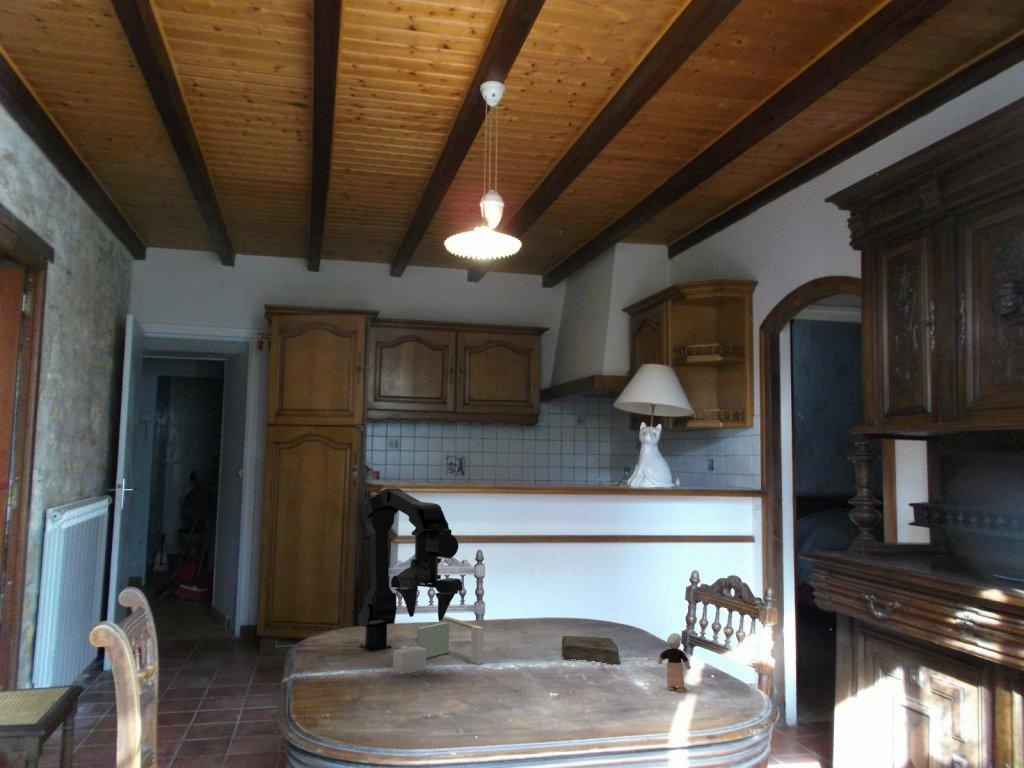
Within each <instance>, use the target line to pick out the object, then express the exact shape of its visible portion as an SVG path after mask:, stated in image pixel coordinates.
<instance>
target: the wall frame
mask: <svg viewBox="0 0 1024 768" xmlns="http://www.w3.org/2000/svg"><path fill="white" fill-rule="evenodd" d="M443 622H448V623H449V624H450V623H453V624H456V625H460V626H462V627H465V628H469V629H471V638H470V639H471V645H470V662H471V663H472V662H473V663H472V664H475V663H476V664H475V665H477V664H479V665H482V664H483V659H484V658H483V657H484V656H483V655H484V652H483V651H484V649H483V648H484V647H483V646H484V627H483V626H479V625H476V624H473V623H469V622H466V621H464V620H459V619H458V618H457V619H456V618H454V617H449V616H447V615H444V617H443V620H441V621H439V620H438V624H439V623H443ZM448 652H450V635H449V636H448ZM481 663H482V664H481Z"/></svg>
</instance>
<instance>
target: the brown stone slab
mask: <svg viewBox="0 0 1024 768" xmlns="http://www.w3.org/2000/svg"><path fill="white" fill-rule="evenodd" d="M561 637H562V639H561V651H562V652H561V654H562V655H561V658H562V657H564V658H567V659H566V660H568V659H574V660H575V659H576V660H586V661H595V662H601V663H600V664H602V663H607V664H606V665H613V664H617V665H619V664H620V662H619V661H620V660H619V659H620V658H619V655H620V652H619V651H620V650H619V648H618V646H617V644H616V643H615V641H614V640H613V639H612V638H609V637H600V636H587V635H586V636H585V635H583V636H582V635H581V636H580V635H563V636H561ZM564 658H563V659H564ZM574 660H573V661H574Z"/></svg>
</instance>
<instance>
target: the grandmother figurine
mask: <svg viewBox="0 0 1024 768" xmlns="http://www.w3.org/2000/svg"><path fill="white" fill-rule="evenodd" d="M681 642H682V636H681V635H680V633H676V632H673V633H671V634H670V635H669V636H668V637H667V639H666V643H667V644H668V645H669V647H670V648H667V649H664V650H663V651H662V652H661V653H660V654H659V658H658V660H657V664H659V665H661V664H663V661H664V660H667V666H666V680H667V682H666V683H667V689H668V690H667V689H666V690H667V691H670V690H673V691H675V690H676V692H679V693H684V692H687V691H688V689H687V687H686V686H685V683H684V666H683V664H684V665H685V667H686V668H685V669H686V670H691V665H690V662H689V658H688V657H687V655H686V654H685V652H684V651H682V650H681V649H680V646H681ZM682 662H683V663H682ZM677 687H678V688H677Z"/></svg>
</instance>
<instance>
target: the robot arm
mask: <svg viewBox="0 0 1024 768" xmlns="http://www.w3.org/2000/svg"><path fill="white" fill-rule="evenodd" d="M399 511H400V512H401V513H403V514H405V515H406V516H407V517H408V521H409V523H410V524H412V525H413V527H414V528H415V529H414V530H412V532H411V536H414V538H415V539H414V544H415V545H414V558H412V559H411V561H410V565H409V567H408V568H405V569H404V570H403V571H401V572H400V573H399V574H396V575H393V577H392V578H391V580H390V564H389V562H390V561H389V560H390V559H389V558H390V557H389V555H390V553H389V551H390V550H389V545H390V544H389V543H390V542H389V534H390V533H389V532H390V531H391V529H392V527H393V525H394V523H395V516H396V514H397V513H398V512H399ZM362 516H363V520H364V521H363V523H364V526H365V527H366V528H367V530H368V532H369V533H370V588H369V590H368V591H367V593H366V595H365V596H364V605H363V607H362V609H361V610H360V613H359V614H358V616H357V623H358V625H359V626H361V627H364V628H365V629H364V632H365V633H364V643H361V644H359V647H360V648H363V649H365V650H367V651H370V652H373V651H378V650H379V651H380V650H383V649H384V650H387V649H391V648H392V645H390V644H388V641H387V640H388V625H393V624H394V623H395V620H396V615H397V611H398V606H397V594H396V592H398V593H399V594H400V595H401V597H402V598H403V601H404V604H405V607H406V609H407V610H406V611H407V612H408V615H409V617H410V618H412V617H414V615H415V611H416V603H417V597H418V588H419V587H424V588H432V589H433V588H434V589H435V590H436V591H437V592H434V595H435V597H436V598H437V618H438V619H437V620H438V622H439V621H441V620H443V617H444V616H446V613H447V610H448V608H449V606H450V604H451V602H452V600H453V599H454V597H455V595H457V594H459V592H460V591H463V581H462V580H461V578H456V577H455V578H453V577H447V578H442V574H439V564H440V563H442V558H443V559H451V558H453V557H454V556H455V555H456V554H457V553H458V549H459V542H458V540H457V538H456V537H455V535H453V534H452V529H450V527H449V525H450V524H449V523H448V521H447V519H446V516H445V514H444V511H443V509H442V507H441V506H440V504H438V503H434V502H426V501H425V502H424V501H420V500H419V499H416V498H415V497H414V496H412V495H410V494H408V493H406V492H405V491H403V490H402V489H401V488H395V487H393V488H392V487H391V488H389V487H388V488H387V487H386V488H385V489H382V490H381V492H380V493H378V494H377V495H375V496H372V497H371V498H369V500H368V501H367V502H366V503H365V504H364V506H363V507H362ZM441 578H442V579H441ZM390 587H391V588H394V590H395V592H393V591H392V589H391V588H390Z"/></svg>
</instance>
